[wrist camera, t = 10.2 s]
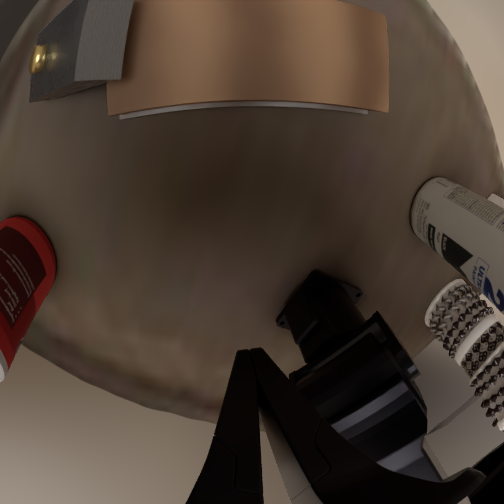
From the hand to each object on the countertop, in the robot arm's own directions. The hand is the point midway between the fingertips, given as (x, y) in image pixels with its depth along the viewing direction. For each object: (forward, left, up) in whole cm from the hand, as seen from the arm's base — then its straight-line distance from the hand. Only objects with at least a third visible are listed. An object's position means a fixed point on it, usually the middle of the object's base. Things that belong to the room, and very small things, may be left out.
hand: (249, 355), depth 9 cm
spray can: (-17, -10, -12) cm, 23 cm away
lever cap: (+13, -7, -10) cm, 17 cm away
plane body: (+4, -11, -12) cm, 17 cm away
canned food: (+15, +10, -12) cm, 22 cm away
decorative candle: (-33, -2, -12) cm, 35 cm away
